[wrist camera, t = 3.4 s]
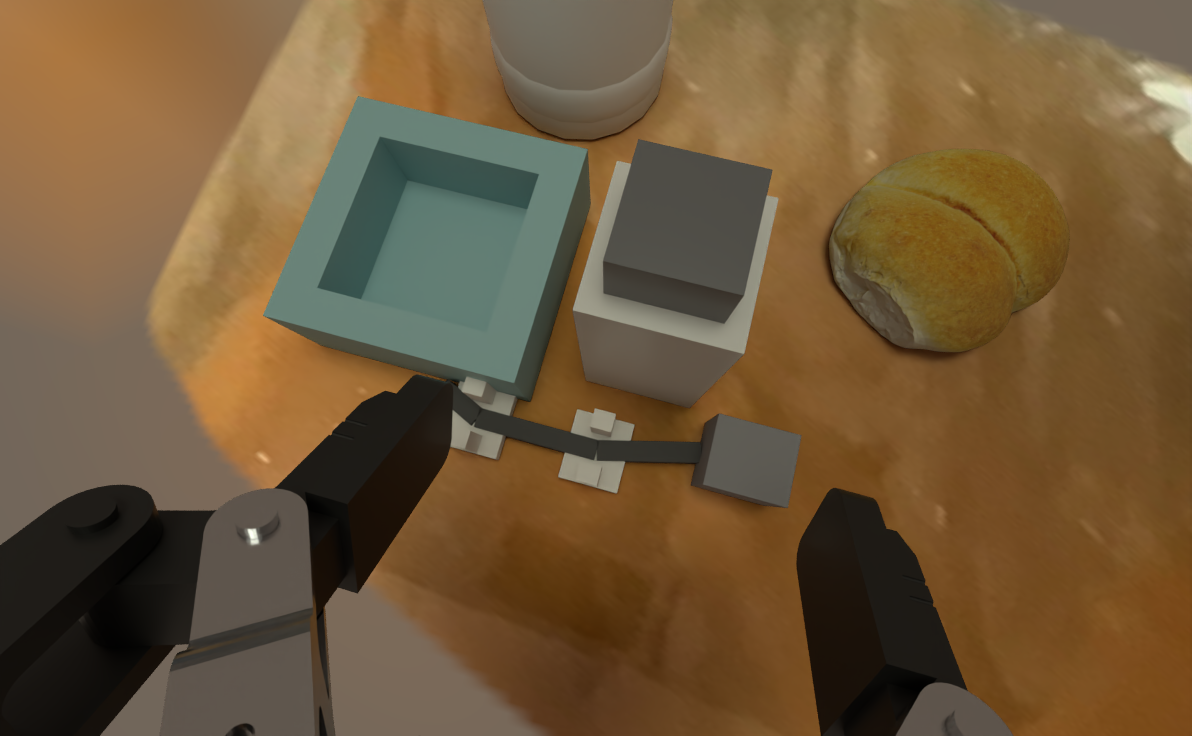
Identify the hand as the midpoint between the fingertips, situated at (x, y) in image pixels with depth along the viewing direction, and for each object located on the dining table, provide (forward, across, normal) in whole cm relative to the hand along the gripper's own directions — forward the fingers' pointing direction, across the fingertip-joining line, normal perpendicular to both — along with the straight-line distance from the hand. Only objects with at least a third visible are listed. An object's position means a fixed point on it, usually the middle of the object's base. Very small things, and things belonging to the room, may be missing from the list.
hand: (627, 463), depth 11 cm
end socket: (+12, +9, +3) cm, 15 cm away
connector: (+12, 0, +4) cm, 12 cm away
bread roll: (+17, -11, -1) cm, 20 cm away
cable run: (+8, +1, +7) cm, 11 cm away
